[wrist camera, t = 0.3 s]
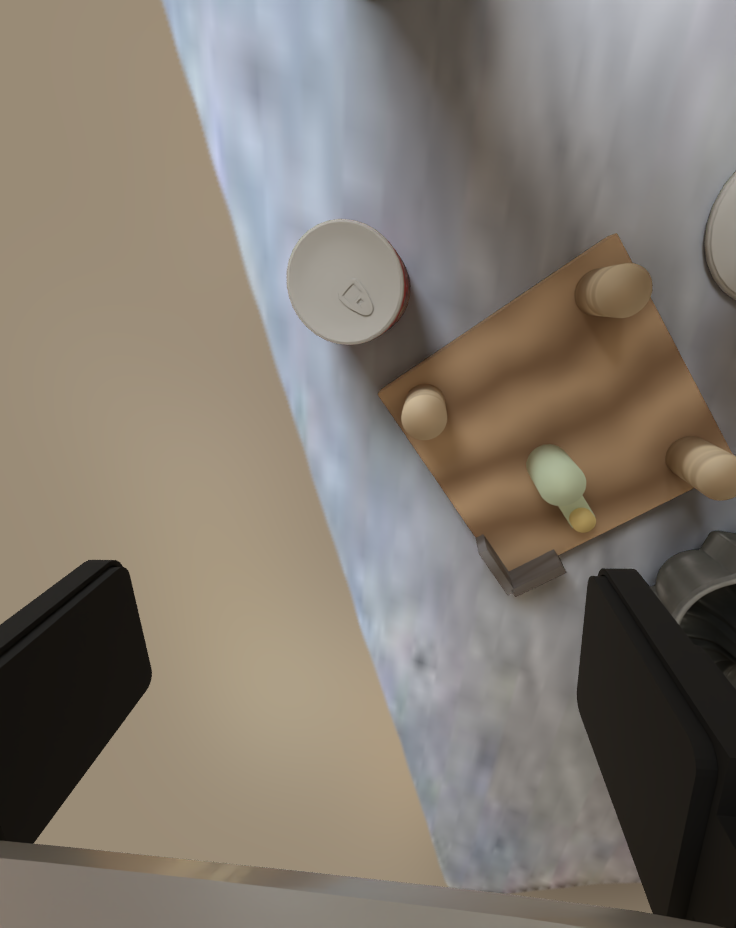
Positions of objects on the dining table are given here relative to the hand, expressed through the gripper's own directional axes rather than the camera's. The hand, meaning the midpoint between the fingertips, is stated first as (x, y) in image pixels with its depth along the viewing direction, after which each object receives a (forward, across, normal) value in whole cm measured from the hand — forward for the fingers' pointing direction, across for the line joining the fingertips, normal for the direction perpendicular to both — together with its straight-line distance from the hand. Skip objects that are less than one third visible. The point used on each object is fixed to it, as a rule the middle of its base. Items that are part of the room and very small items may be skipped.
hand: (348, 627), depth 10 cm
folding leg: (+34, -13, +10) cm, 37 cm away
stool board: (+36, -12, +5) cm, 38 cm away
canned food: (+36, +4, -8) cm, 37 cm away
